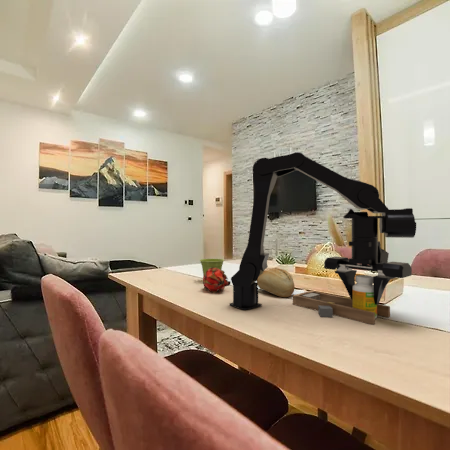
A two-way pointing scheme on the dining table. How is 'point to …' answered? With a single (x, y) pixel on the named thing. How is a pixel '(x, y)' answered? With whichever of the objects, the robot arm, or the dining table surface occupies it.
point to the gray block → (325, 311)
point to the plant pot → (211, 264)
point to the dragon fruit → (215, 279)
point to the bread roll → (276, 282)
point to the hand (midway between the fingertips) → (364, 301)
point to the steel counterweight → (312, 296)
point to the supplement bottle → (364, 294)
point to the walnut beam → (340, 306)
